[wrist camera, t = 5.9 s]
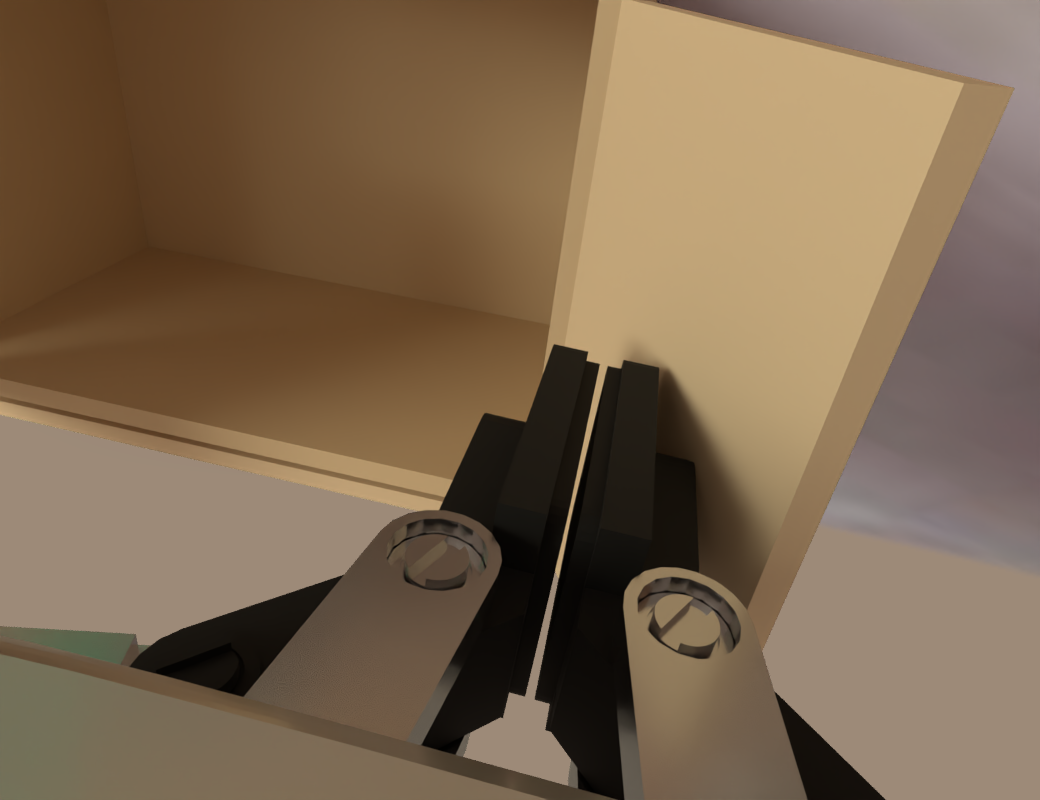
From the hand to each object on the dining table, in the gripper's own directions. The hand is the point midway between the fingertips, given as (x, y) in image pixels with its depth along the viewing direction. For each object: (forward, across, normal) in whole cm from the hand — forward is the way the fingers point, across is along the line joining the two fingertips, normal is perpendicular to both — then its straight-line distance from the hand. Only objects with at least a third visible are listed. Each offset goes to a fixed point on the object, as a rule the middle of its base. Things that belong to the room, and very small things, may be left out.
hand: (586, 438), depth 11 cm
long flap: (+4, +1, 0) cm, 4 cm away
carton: (+14, +10, 0) cm, 17 cm away
